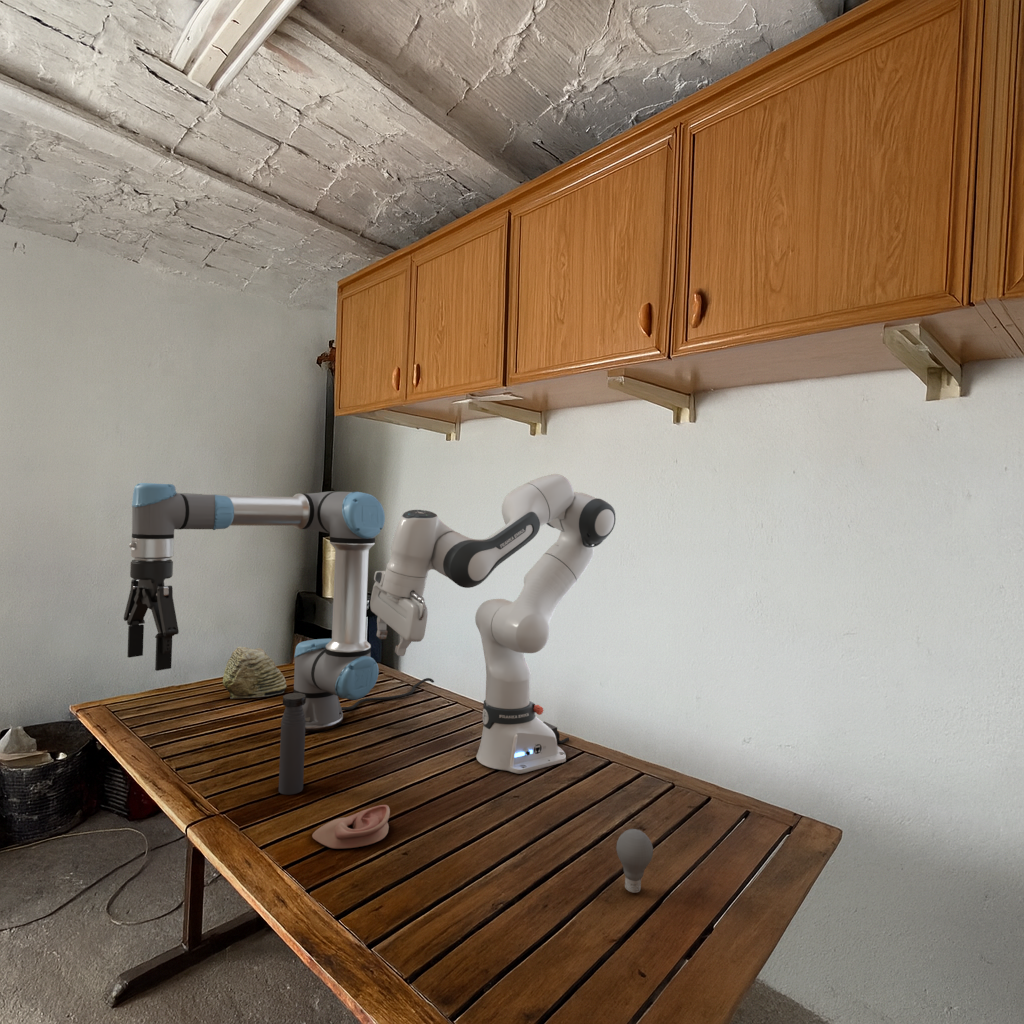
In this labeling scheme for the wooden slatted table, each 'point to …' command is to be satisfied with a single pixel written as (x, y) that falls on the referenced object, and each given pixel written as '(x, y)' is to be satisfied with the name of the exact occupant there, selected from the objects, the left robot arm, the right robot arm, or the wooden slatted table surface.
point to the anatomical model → (355, 829)
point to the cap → (294, 699)
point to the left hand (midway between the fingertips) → (148, 662)
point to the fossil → (252, 674)
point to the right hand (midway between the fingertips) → (389, 646)
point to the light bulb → (634, 857)
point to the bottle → (292, 751)
